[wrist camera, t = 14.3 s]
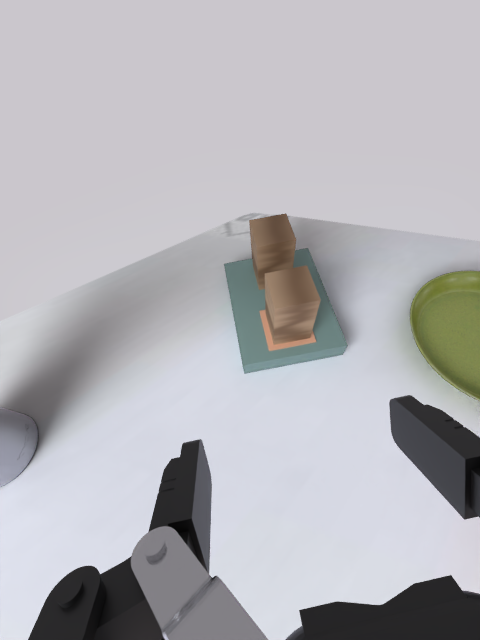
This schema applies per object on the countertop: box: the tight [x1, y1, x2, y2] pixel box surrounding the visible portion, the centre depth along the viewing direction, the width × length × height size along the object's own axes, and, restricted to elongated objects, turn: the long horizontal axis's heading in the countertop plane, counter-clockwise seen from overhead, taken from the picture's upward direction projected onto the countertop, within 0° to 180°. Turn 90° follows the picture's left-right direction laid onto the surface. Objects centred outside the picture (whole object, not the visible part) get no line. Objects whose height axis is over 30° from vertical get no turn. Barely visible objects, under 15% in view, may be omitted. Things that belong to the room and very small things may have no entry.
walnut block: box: [265, 265, 321, 345], centre depth 35 cm, size 5×5×9 cm
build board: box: [224, 248, 348, 373], centre depth 43 cm, size 14×18×3 cm
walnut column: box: [249, 214, 296, 290], centre depth 40 cm, size 5×5×9 cm
